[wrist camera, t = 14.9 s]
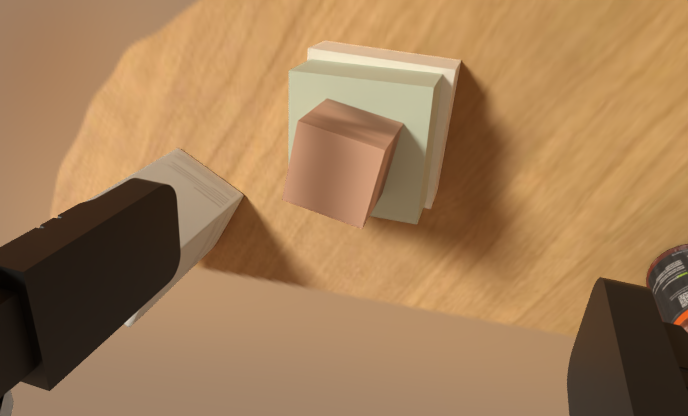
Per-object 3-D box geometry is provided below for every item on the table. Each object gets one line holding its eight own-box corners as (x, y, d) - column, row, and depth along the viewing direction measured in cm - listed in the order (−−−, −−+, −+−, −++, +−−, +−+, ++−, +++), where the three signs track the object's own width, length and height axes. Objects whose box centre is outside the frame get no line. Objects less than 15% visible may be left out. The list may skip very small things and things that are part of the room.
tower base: (461, 58, 38) (455, 70, 34) (438, 188, 42) (430, 209, 39) (326, 39, 40) (308, 48, 37) (318, 164, 45) (300, 182, 41)
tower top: (442, 73, 35) (433, 87, 31) (426, 199, 39) (416, 224, 35) (310, 59, 37) (288, 70, 33) (308, 180, 41) (288, 201, 37)
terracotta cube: (403, 123, 33) (385, 150, 28) (382, 194, 35) (362, 229, 31) (327, 98, 33) (297, 120, 29) (311, 169, 36) (281, 199, 32)
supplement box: (178, 144, 47) (74, 203, 36) (247, 194, 47) (164, 268, 36) (149, 203, 51) (47, 272, 40) (213, 250, 51) (128, 331, 40)
